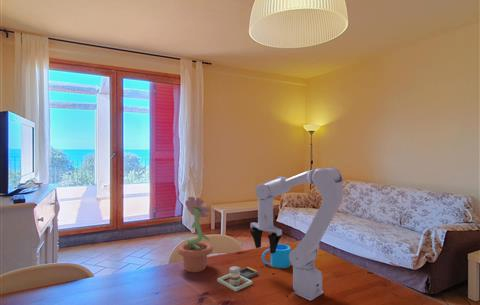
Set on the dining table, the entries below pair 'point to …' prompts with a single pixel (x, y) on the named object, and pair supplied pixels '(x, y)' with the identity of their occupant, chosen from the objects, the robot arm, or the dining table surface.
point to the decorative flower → (196, 239)
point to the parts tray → (233, 286)
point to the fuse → (234, 275)
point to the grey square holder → (248, 272)
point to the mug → (279, 256)
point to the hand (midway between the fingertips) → (265, 250)
